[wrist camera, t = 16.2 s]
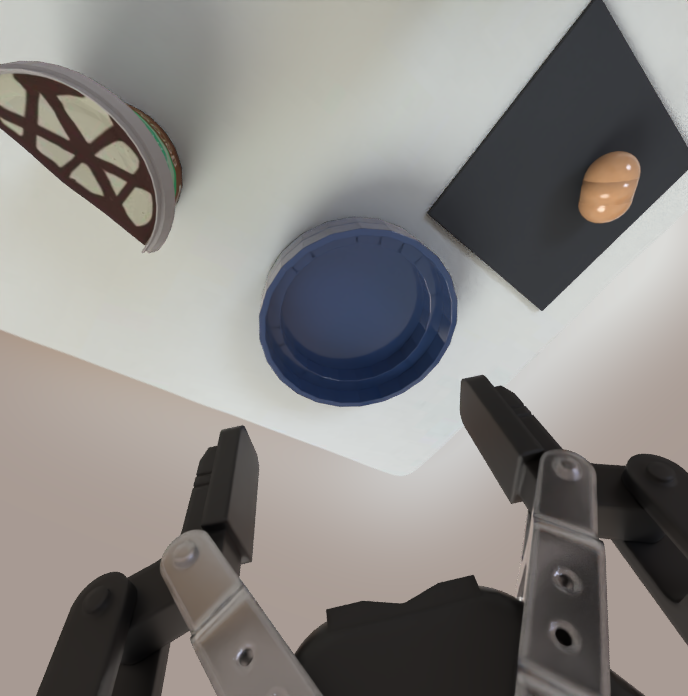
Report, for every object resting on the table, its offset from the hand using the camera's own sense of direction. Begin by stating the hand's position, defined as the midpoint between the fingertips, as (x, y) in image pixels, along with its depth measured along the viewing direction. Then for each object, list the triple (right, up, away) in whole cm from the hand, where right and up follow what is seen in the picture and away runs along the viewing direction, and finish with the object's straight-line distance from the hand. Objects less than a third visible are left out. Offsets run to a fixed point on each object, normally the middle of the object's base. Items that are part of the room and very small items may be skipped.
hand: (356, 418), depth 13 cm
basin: (+1, +7, +27) cm, 28 cm away
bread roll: (+23, +18, +21) cm, 36 cm away
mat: (+22, +19, +23) cm, 37 cm away
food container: (-17, +20, +16) cm, 31 cm away
